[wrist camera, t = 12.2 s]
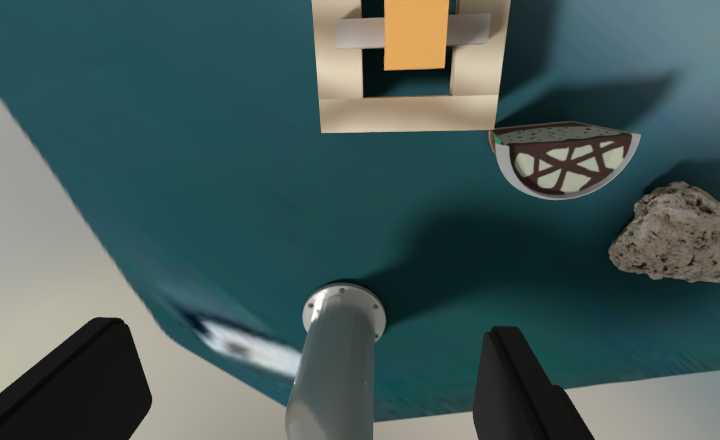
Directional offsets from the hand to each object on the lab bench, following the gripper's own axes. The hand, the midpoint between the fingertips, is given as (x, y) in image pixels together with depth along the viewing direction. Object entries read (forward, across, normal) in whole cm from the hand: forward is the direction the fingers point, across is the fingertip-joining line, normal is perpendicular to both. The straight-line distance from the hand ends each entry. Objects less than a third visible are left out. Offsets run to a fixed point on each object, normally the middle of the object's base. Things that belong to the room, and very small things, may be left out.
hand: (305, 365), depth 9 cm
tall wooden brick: (+28, -4, -11) cm, 31 cm away
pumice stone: (+35, -38, +10) cm, 53 cm away
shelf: (+34, -4, -11) cm, 36 cm away
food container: (+35, -20, +1) cm, 40 cm away
